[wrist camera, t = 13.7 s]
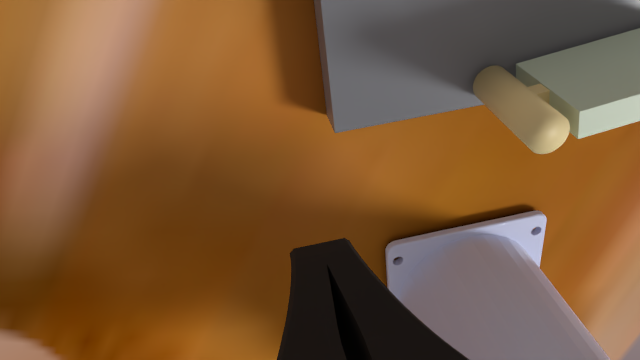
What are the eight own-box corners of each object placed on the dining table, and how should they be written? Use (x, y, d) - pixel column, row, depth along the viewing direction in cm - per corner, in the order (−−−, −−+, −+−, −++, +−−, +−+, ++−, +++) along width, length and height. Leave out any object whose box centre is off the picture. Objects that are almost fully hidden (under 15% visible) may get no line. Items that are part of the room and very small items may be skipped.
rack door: (473, 104, 21) (527, 158, 18) (471, 71, 20) (527, 121, 17) (663, 49, 21) (752, 92, 18) (668, 14, 21) (762, 52, 17)
